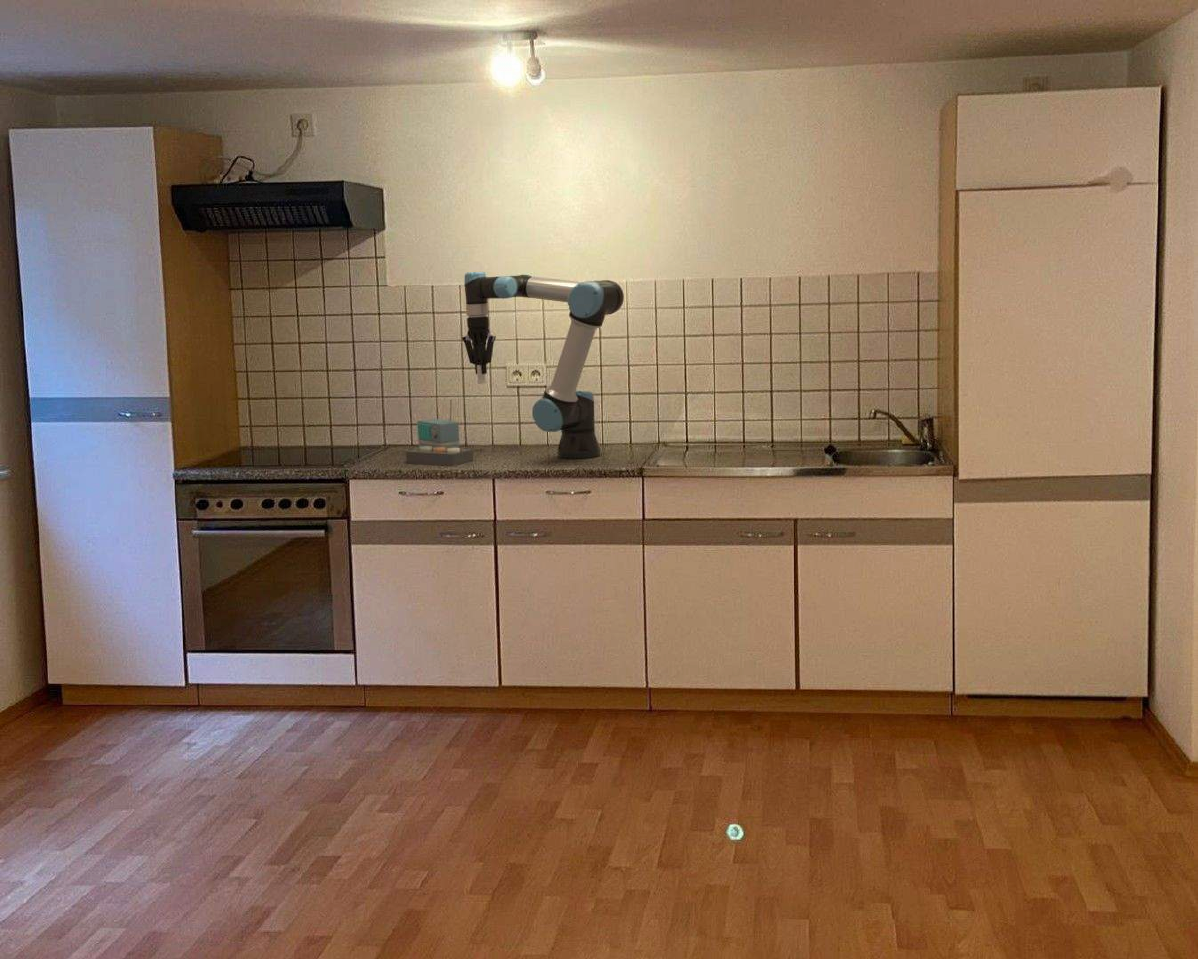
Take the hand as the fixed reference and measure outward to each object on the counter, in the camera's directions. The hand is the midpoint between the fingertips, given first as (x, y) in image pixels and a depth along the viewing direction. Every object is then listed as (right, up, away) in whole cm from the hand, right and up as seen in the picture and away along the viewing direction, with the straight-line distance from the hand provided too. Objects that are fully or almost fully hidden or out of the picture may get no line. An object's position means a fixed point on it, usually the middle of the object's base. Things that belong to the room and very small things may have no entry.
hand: (481, 383), depth 518 cm
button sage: (-19, -25, -4) cm, 32 cm away
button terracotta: (-14, -25, -7) cm, 30 cm away
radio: (-17, -25, +14) cm, 33 cm away
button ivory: (-9, -26, -10) cm, 29 cm away
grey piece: (-14, -28, -6) cm, 32 cm away
